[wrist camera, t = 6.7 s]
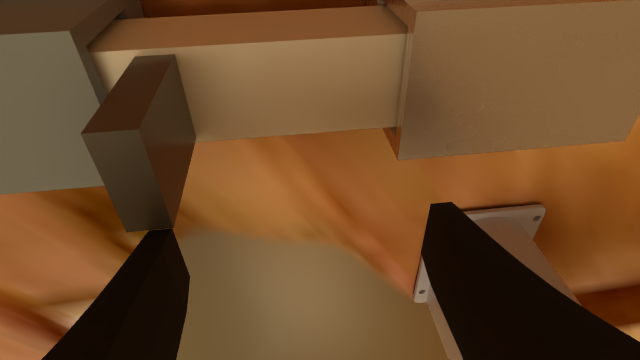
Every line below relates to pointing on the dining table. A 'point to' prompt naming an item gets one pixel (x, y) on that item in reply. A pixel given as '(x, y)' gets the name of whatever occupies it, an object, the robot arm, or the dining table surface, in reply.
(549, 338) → the robot arm
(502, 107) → the beige stepped block
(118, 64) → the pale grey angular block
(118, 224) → the dining table surface
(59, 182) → the slate stepped block
